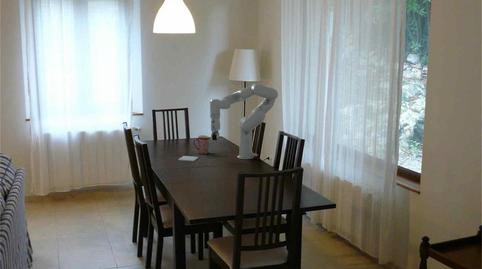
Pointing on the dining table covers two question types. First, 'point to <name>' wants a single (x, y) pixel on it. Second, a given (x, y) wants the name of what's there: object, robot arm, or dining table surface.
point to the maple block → (216, 137)
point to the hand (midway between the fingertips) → (215, 139)
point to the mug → (202, 144)
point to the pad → (188, 158)
